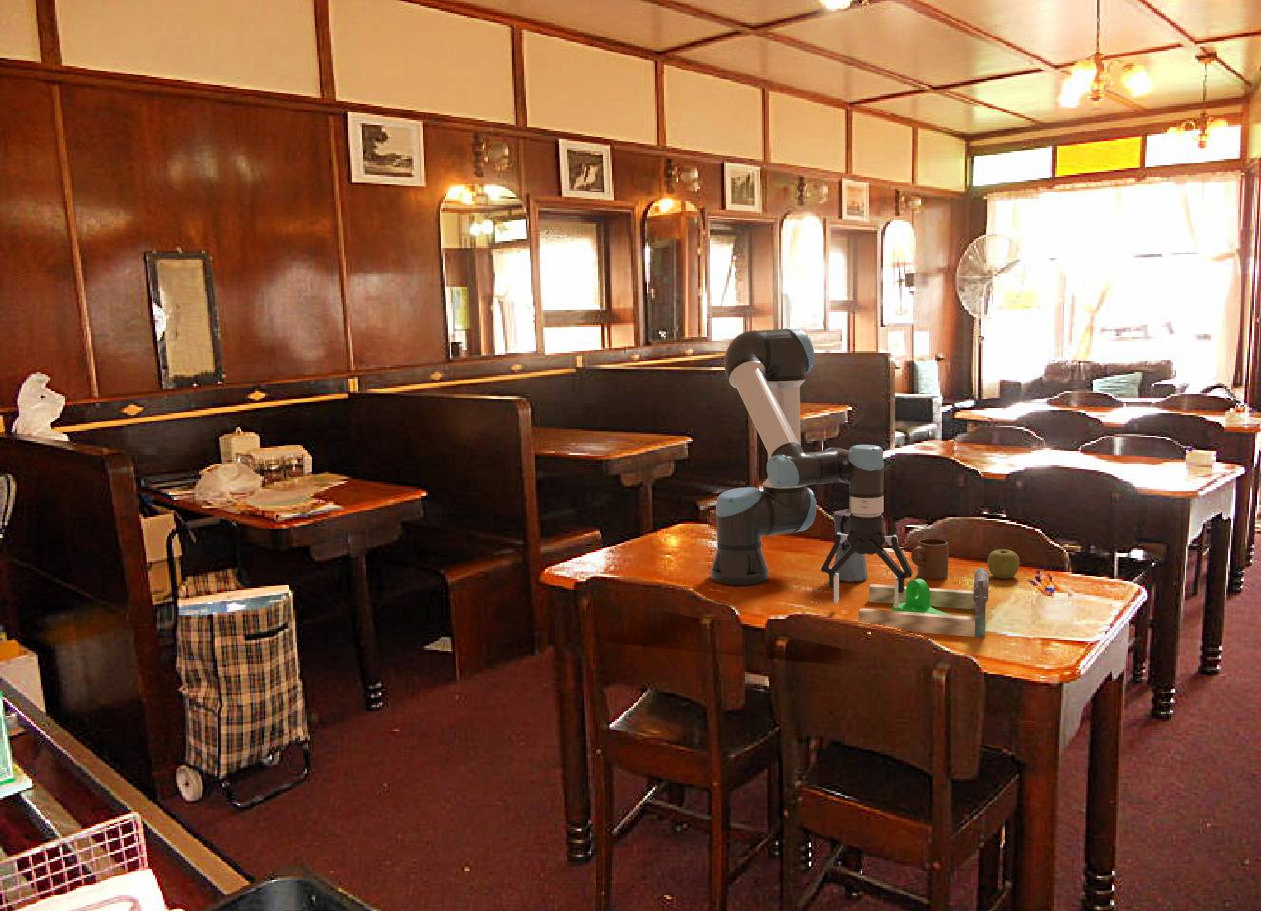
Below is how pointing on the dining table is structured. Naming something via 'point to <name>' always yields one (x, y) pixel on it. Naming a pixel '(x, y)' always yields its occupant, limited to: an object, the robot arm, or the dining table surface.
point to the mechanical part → (917, 599)
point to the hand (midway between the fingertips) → (866, 604)
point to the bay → (937, 599)
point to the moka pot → (856, 562)
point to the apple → (1003, 563)
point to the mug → (931, 559)
